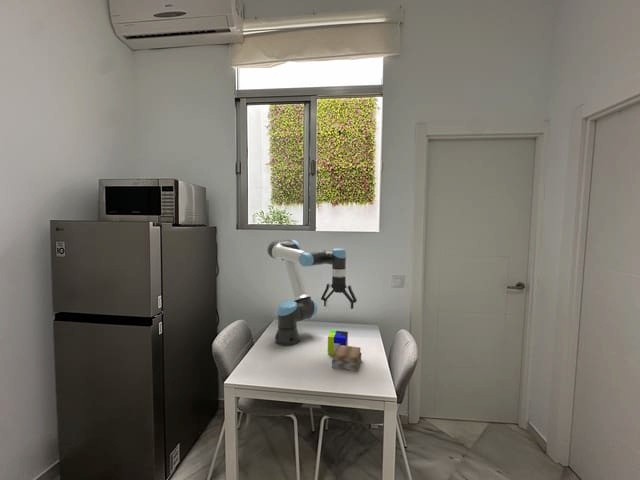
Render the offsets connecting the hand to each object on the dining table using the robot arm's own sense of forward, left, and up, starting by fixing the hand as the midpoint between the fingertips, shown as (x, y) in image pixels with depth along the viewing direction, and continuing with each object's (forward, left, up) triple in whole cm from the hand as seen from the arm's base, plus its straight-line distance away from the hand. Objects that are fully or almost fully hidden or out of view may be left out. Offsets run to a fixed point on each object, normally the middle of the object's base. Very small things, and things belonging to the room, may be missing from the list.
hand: (338, 313), depth 174 cm
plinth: (+8, -13, -22) cm, 27 cm away
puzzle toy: (0, 0, -23) cm, 23 cm away
